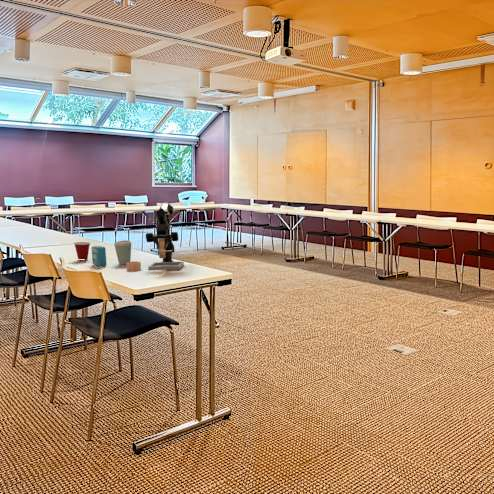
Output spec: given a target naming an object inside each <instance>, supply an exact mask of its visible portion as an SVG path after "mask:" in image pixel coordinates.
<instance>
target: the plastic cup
mask: <svg viewBox="0 0 494 494" xmlns="http://www.w3.org/2000/svg"><path fill="white" fill-rule="evenodd" d="M73 244H74V248H75V251H76V256H77V259H78V260H79V259H87V260H89V249H90V245H91V242H87V241H86V242H85V241H80V242H79V241H78V242H77V241H76V242H73Z"/></svg>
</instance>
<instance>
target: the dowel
mask: <svg viewBox="0 0 494 494" xmlns="http://www.w3.org/2000/svg"><path fill="white" fill-rule="evenodd" d="M158 243H159V249H158V255H159V256H158V257H159V259H163V258H166V256H165V239H158Z"/></svg>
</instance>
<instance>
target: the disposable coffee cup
mask: <svg viewBox="0 0 494 494" xmlns="http://www.w3.org/2000/svg"><path fill="white" fill-rule="evenodd" d="M114 248H115V249H114V250H115V253H116V257H117V261H118V264H119V265H123V266H124V265H125V266H127V265H126V263H127V262H131V256H132V254H131V253H132V242H131V240H118V241H115V243H114Z"/></svg>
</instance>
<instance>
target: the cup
mask: <svg viewBox="0 0 494 494" xmlns="http://www.w3.org/2000/svg"><path fill="white" fill-rule="evenodd" d="M141 265H142V264H141V261H137V260H136V261H134V260H132V261H130V262H127V263H126V265H125V266H126V271H129V272H133V271H140V270H142V266H141Z"/></svg>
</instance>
